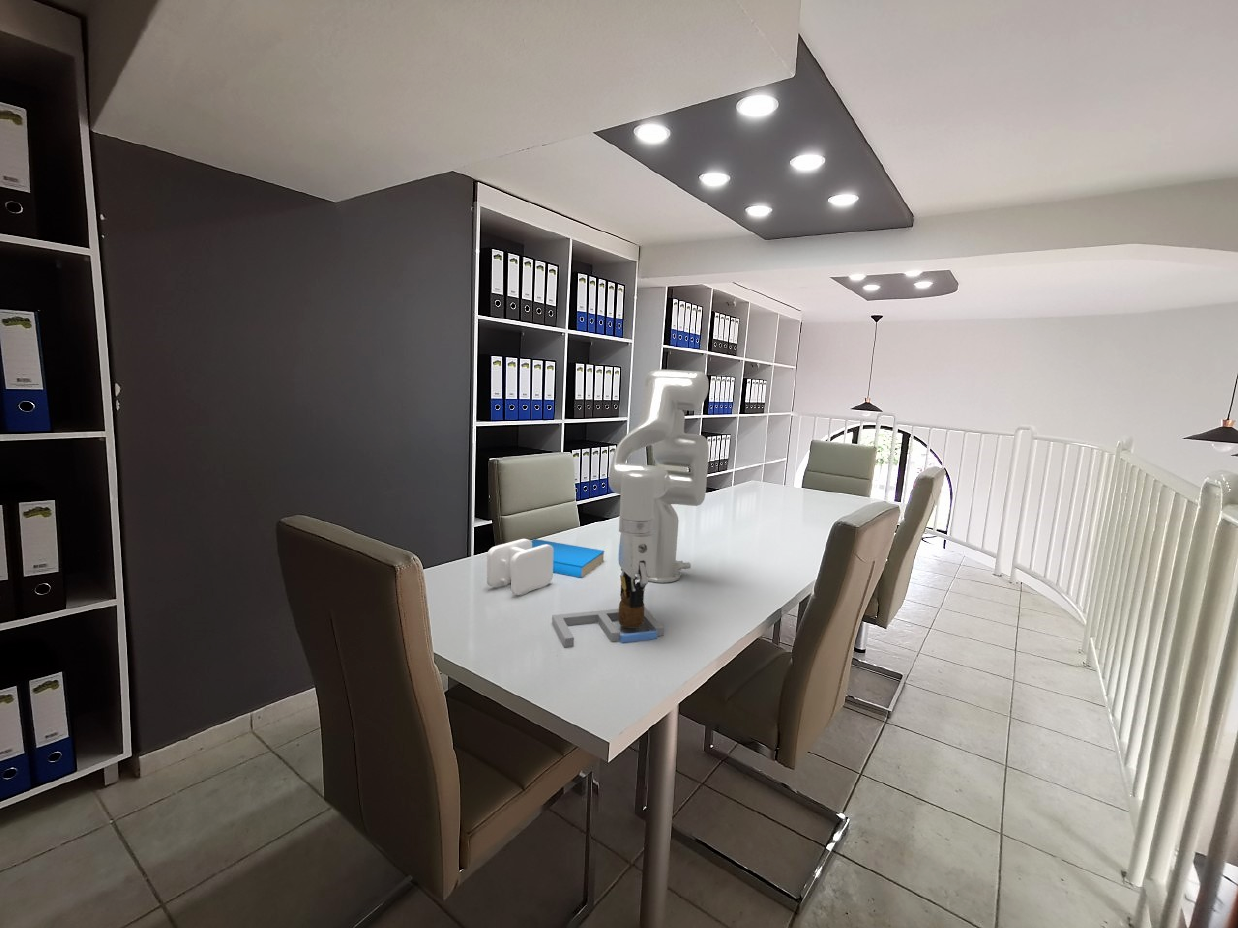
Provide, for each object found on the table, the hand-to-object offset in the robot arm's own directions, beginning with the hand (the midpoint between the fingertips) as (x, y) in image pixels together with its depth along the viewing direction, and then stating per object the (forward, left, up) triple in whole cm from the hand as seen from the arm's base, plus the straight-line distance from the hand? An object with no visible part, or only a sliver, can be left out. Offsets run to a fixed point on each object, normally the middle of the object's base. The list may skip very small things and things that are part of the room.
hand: (631, 600), depth 128 cm
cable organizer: (+20, -31, -7) cm, 38 cm away
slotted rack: (+5, -1, -7) cm, 9 cm away
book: (+6, -48, -7) cm, 49 cm away
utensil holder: (0, 0, -6) cm, 6 cm away
